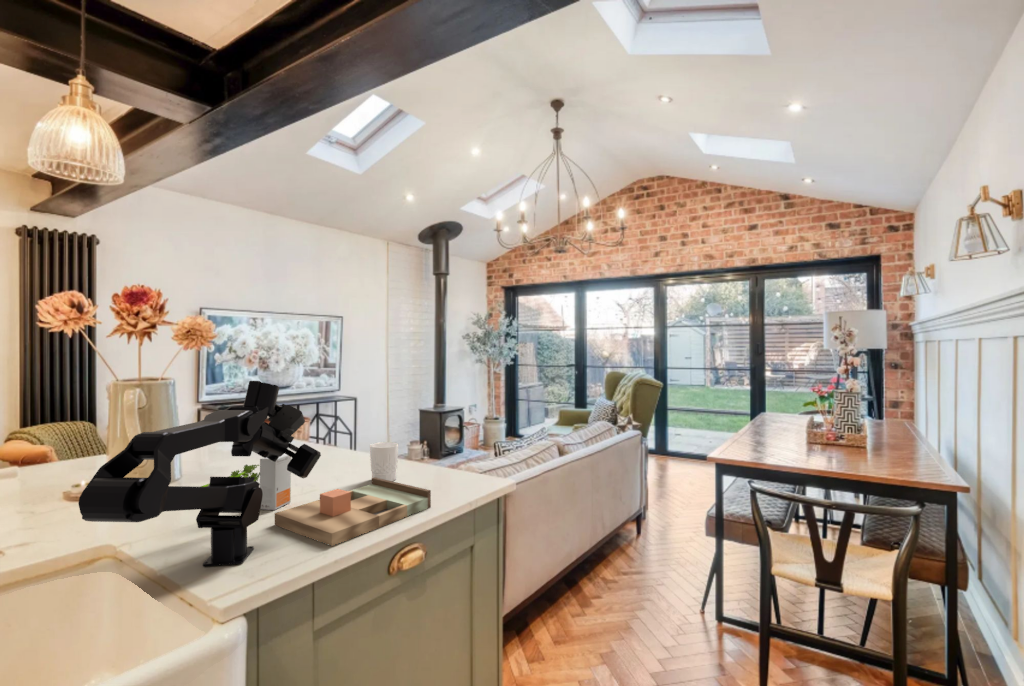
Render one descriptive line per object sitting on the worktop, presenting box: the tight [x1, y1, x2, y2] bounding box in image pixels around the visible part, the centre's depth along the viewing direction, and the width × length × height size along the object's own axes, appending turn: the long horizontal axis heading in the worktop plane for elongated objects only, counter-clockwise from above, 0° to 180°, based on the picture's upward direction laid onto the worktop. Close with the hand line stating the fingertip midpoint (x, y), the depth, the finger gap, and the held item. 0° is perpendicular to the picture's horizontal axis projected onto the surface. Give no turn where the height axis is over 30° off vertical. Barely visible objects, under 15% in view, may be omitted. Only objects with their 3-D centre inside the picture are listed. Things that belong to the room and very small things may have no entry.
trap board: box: [274, 477, 432, 547], centre depth 111 cm, size 27×20×4 cm
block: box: [319, 488, 351, 517], centre depth 106 cm, size 4×4×4 cm
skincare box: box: [259, 453, 292, 511], centre depth 118 cm, size 6×4×12 cm
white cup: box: [369, 441, 399, 482], centre depth 140 cm, size 8×8×10 cm
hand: (294, 454), depth 113 cm, fingers open, 9 cm apart
